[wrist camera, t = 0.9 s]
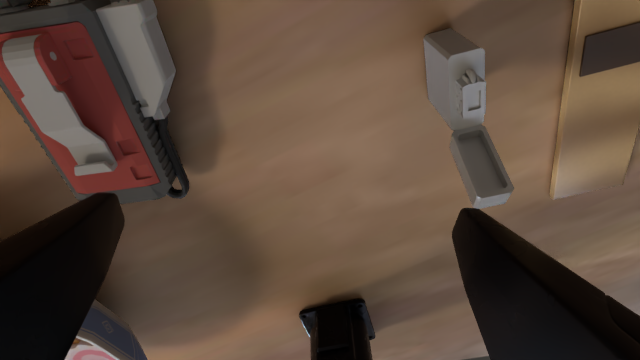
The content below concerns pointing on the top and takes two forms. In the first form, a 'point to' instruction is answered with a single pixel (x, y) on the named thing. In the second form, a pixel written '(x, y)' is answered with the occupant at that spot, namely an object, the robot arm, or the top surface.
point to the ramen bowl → (105, 338)
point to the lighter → (465, 114)
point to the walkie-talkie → (94, 93)
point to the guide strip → (598, 98)
